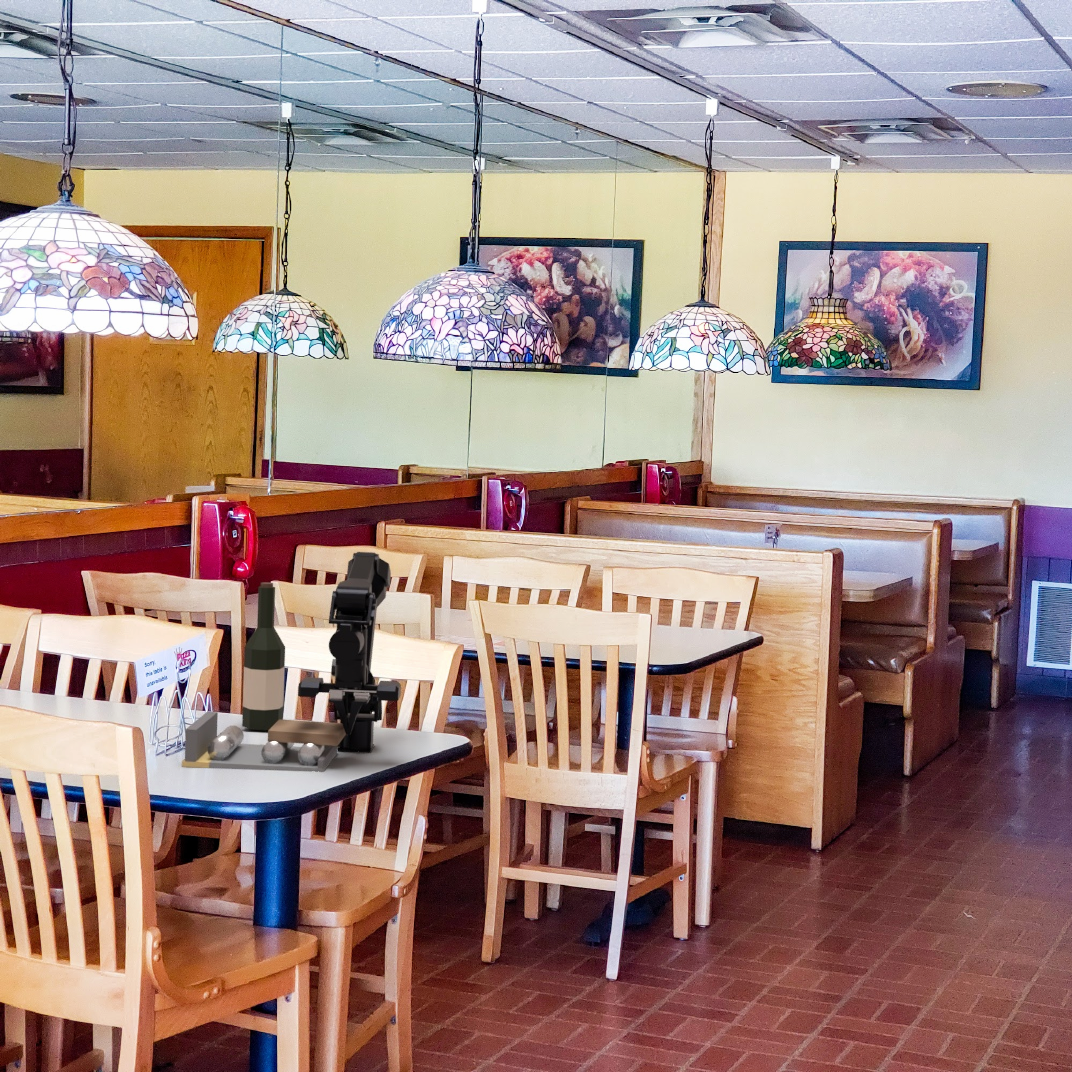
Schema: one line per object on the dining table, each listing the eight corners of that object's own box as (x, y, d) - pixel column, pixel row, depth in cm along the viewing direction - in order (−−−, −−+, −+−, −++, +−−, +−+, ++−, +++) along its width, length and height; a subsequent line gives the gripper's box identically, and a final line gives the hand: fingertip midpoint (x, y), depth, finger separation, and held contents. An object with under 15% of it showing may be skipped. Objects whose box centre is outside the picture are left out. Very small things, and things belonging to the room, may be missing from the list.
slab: (346, 733, 282) (346, 723, 282) (337, 745, 272) (338, 735, 272) (278, 729, 282) (279, 719, 282) (267, 741, 272) (268, 730, 272)
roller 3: (305, 740, 283) (319, 726, 283) (319, 755, 284) (334, 741, 283) (293, 755, 271) (308, 740, 271) (308, 770, 272) (323, 755, 271)
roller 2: (270, 740, 284) (282, 724, 283) (287, 753, 284) (299, 737, 283) (256, 754, 272) (269, 738, 271) (274, 768, 272) (287, 751, 271)
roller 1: (227, 748, 284) (219, 729, 284) (246, 741, 284) (238, 722, 284) (212, 763, 272) (204, 743, 272) (232, 755, 272) (223, 736, 272)
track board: (336, 753, 286) (338, 718, 285) (322, 773, 270) (324, 736, 269) (203, 746, 286) (204, 711, 286) (181, 766, 271) (182, 729, 270)
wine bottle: (243, 730, 302) (248, 585, 300) (240, 721, 310) (244, 580, 308) (284, 730, 304) (289, 585, 302) (280, 721, 312) (285, 580, 310)
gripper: (405, 647, 284) (401, 727, 285) (308, 643, 284) (305, 722, 285) (399, 657, 273) (396, 740, 274) (298, 652, 273) (296, 735, 274)
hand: (348, 734), depth 277 cm, fingers closed
